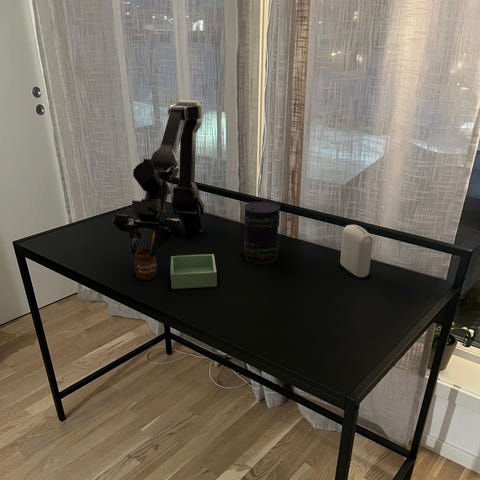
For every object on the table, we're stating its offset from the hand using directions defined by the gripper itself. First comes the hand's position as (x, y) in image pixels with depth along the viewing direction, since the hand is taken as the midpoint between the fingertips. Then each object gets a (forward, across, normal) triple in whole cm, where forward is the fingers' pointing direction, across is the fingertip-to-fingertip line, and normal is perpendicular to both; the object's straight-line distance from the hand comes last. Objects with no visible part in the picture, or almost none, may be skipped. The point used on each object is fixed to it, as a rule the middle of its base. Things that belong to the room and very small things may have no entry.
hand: (142, 255), depth 134 cm
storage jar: (-10, +27, +20) cm, 35 cm away
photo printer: (-8, +54, +18) cm, 57 cm away
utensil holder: (+4, 0, +6) cm, 7 cm away
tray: (+2, +13, +7) cm, 15 cm away
